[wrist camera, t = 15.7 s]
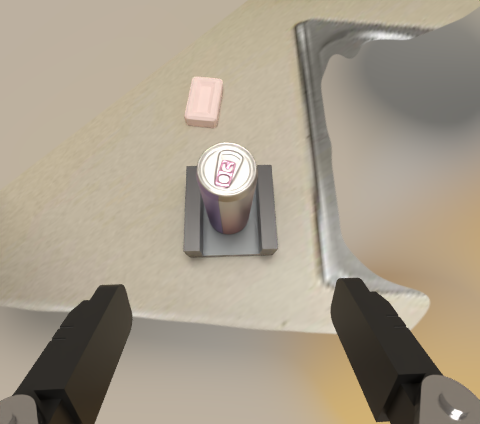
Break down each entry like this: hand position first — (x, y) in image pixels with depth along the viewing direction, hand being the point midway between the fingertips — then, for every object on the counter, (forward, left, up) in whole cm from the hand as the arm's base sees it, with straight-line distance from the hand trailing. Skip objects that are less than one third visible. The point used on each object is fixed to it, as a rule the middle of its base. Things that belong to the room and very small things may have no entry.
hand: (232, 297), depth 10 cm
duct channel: (+4, +11, -27) cm, 29 cm away
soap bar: (+7, +32, -28) cm, 43 cm away
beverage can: (+3, +11, -26) cm, 29 cm away
